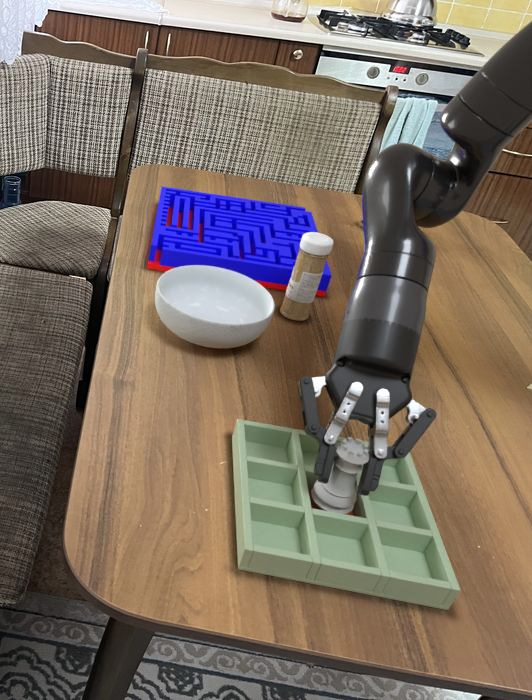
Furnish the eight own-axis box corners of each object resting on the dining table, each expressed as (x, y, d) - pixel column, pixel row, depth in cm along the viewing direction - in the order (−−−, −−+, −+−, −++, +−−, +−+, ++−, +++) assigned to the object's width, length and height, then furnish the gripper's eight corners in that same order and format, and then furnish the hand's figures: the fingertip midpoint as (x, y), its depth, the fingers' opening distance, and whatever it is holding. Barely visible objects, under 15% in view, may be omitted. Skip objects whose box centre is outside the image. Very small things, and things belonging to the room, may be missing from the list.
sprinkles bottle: (277, 305, 111) (300, 229, 103) (306, 309, 110) (331, 233, 103) (281, 319, 107) (305, 241, 99) (310, 324, 106) (337, 246, 99)
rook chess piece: (339, 524, 70) (365, 468, 65) (301, 498, 72) (324, 442, 68) (360, 504, 72) (387, 448, 68) (323, 479, 75) (346, 424, 70)
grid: (399, 467, 80) (408, 448, 79) (448, 610, 64) (461, 590, 63) (231, 437, 82) (237, 418, 81) (237, 569, 66) (245, 549, 64)
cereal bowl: (146, 355, 95) (154, 312, 91) (151, 297, 109) (158, 258, 105) (269, 373, 94) (282, 330, 90) (257, 313, 108) (269, 273, 104)
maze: (324, 296, 114) (331, 275, 112) (147, 268, 117) (150, 247, 115) (304, 226, 139) (310, 208, 137) (158, 204, 142) (161, 186, 140)
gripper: (318, 301, 69) (276, 465, 67) (467, 336, 66) (429, 511, 63) (306, 320, 77) (268, 469, 74) (440, 353, 73) (405, 510, 71)
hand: (342, 487), depth 69 cm, fingers closed on rook chess piece, 3 cm apart
